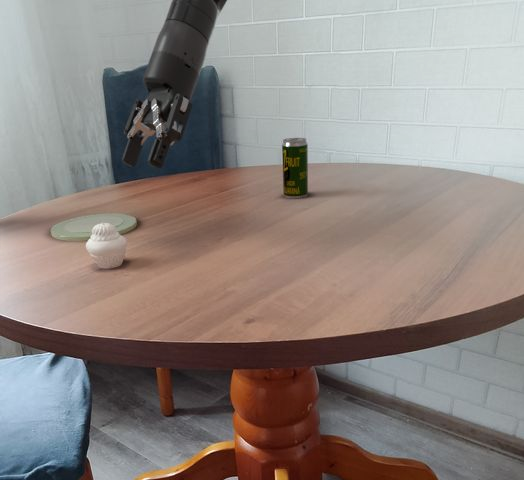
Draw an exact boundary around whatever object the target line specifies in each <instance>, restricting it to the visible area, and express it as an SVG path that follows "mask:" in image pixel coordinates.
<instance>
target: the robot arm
mask: <svg viewBox="0 0 524 480" xmlns="http://www.w3.org/2000/svg"><path fill="white" fill-rule="evenodd" d="M227 2H228V0H171V2H170V5H169V9H168V12H167V14H166V17H165V20H164V23H163V25H162V27H161V30H160V31H159V33H158V34H157V38H156V40H155V44H154V46H153V49H152V51H151V52H152V53H151V54H150V57H149V60H148V64H147V66H146V69H145V72H144V75H143V78H142V82H143V85H144V86H145V87H146V88H147V91H148V95H147V96H146V97H145V100H144V101H143V100H141V99H140V98H136V99H135V101H134V103H133V105H132V108H131V110H130V114H129V117H128V119H127V122H126V124H125V127H124V128H123V135H124V136H126V137H127V139H128V140H127V143H126V145H125V149H124V152H123V154H122V157H121V162H122V163H123V164H125V165H127V166H129V167H131V168H134V167H136V165H137V164H138V163H137V162H138V160H139V157H140V154H141V152H142V149H143V144H144V143H145V142H146V141H147V139H148V138H149V137H153V136H154V135H155V137H156V138H155V139H154V141H153V143H152V146H151V149H150V152H149V155H148V158H147V164H148V165H149V166H151V167H153V168H154V169H157V170H160V169H162V168H163V166H164V163H165V160H166V158H167V154H168V152H169V149H170V147H171V146H174V144H175V142H176V141H177V142H178V143H179V142H181V140H182V139H183V136H184V133H185V129H186V127H187V124H188V121H189V117H190V114H191V111H192V108H193V106H194V105H193V102H192V101H191V100H192V98H193V94H194V92H195V89H196V86H197V83H198V80H199V77H200V75H201V72H202V69H203V67H204V63H205V59H206V56H207V51H208V47H209V44H210V41H211V39H212V35H213V33H214V30H215V27H216V23H217V20H218V17H219V16H220V14H221V12H222V10H224V8H225V5H226V3H227ZM177 125H178V126H177Z"/></svg>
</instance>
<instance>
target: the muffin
mask: <svg viewBox="0 0 524 480" xmlns="http://www.w3.org/2000/svg"><path fill="white" fill-rule="evenodd" d="M92 233H93V234H92V235H91V238H90V239H89V240H87V241H86V243H85V249H86V250H87V252H88V253H89V257H91V259H93V261H94V262H95V263H96V265H97V266H98V267H99V268H101V269H106V270H107V269H108V270H109V269H114V268H118V267H120V266H122V265H123V262H124V259H125V256H126V253H127V246H128V240H127V238H125V236H123V235H122V234H119V233H118V232H117V231H116V227H115V226H114V225H112V224H110V223H103V222H102V223H101V224H97V225H96V226H94V227H93V229H92Z"/></svg>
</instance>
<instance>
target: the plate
mask: <svg viewBox="0 0 524 480" xmlns="http://www.w3.org/2000/svg"><path fill="white" fill-rule="evenodd" d="M102 222H103V223H110V224H112V225H114V226H115V227H116V231H117V232H118V233H119V234H120V235H123V234H126V233H128V232H131V231H132V230H134V229H135V228H136V227H137V225H138V222H137V218H136V217H135V216H132V215H129V214H124V213H111V212H109V213H96V214H86V215H82V216H77V217H72V218H68V219H65V220H63V221H60V222H57V223H56V224H55V225H52V227H51V228H50V233H51V234H50V235H51V236H52V237H53V238H55V239H57V240H60V241H69V242H85V241H86V242H88V240H89V239H90V238H91V235H92V234H93V233H92V229H93V227H94V226H96V225H97V224H101V223H102Z"/></svg>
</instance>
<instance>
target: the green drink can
mask: <svg viewBox="0 0 524 480" xmlns="http://www.w3.org/2000/svg"><path fill="white" fill-rule="evenodd" d="M308 149H309V146H308V142H307V138H305V137H289V138H283V139H282V144H281V154H282V157H281V158H282V189H283V192H282V193H283V196H284V198H286V199H293V200H294V199H297V200H298V199H304V198H306V197H307V196H308V194H309V168H308V167H309V157H308V155H309V154H308V153H309V151H308Z"/></svg>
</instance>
